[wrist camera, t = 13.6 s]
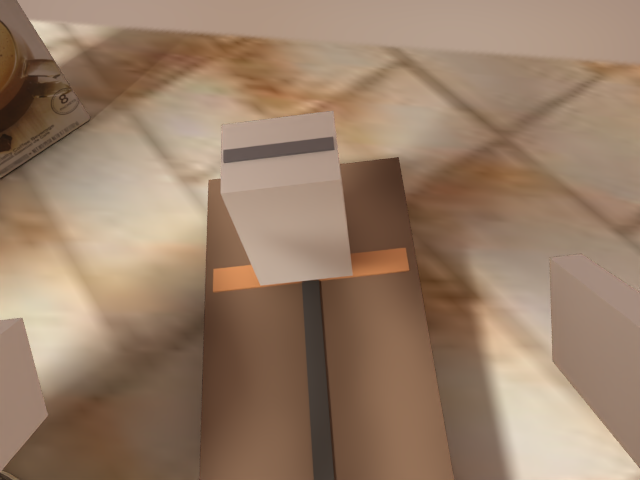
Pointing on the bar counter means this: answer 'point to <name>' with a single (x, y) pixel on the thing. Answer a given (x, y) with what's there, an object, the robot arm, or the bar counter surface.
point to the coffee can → (7, 476)
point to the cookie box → (30, 92)
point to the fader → (287, 196)
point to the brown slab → (322, 354)
